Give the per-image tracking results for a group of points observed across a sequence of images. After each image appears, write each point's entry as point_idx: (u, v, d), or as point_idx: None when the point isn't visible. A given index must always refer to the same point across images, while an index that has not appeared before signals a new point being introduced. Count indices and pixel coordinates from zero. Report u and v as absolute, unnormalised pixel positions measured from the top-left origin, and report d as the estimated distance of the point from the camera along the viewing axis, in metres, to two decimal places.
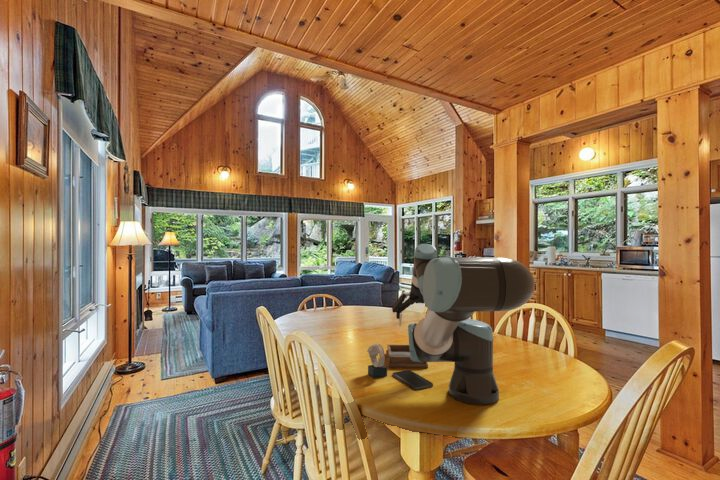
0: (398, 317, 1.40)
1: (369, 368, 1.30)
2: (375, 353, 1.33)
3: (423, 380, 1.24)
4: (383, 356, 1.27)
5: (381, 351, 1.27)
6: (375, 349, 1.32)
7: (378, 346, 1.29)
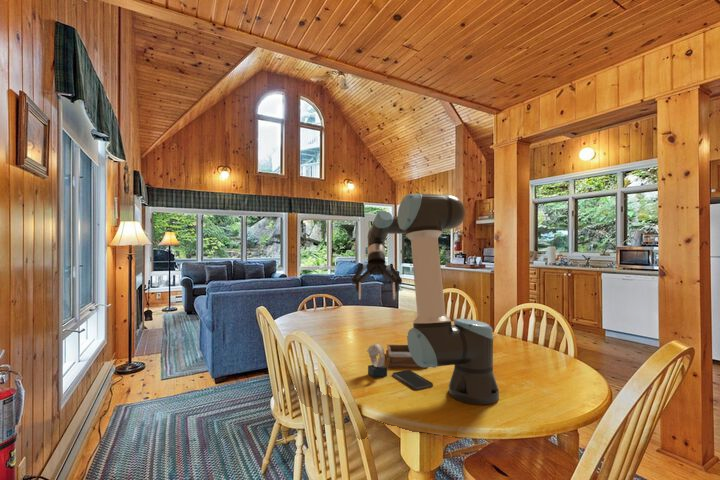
0: (357, 287, 1.43)
1: (369, 368, 1.30)
2: (375, 353, 1.33)
3: (423, 380, 1.24)
4: (383, 356, 1.27)
5: (381, 351, 1.27)
6: (375, 349, 1.32)
7: (378, 346, 1.29)
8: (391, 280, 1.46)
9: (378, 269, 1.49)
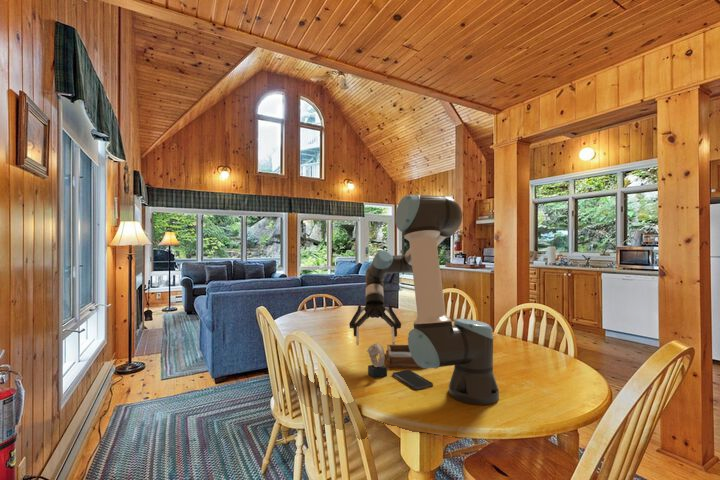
0: (355, 332, 1.38)
1: (369, 368, 1.30)
2: (375, 353, 1.33)
3: (423, 380, 1.24)
4: (383, 356, 1.27)
5: (381, 351, 1.27)
6: (375, 349, 1.32)
7: (378, 346, 1.29)
8: (390, 324, 1.41)
9: (376, 312, 1.44)
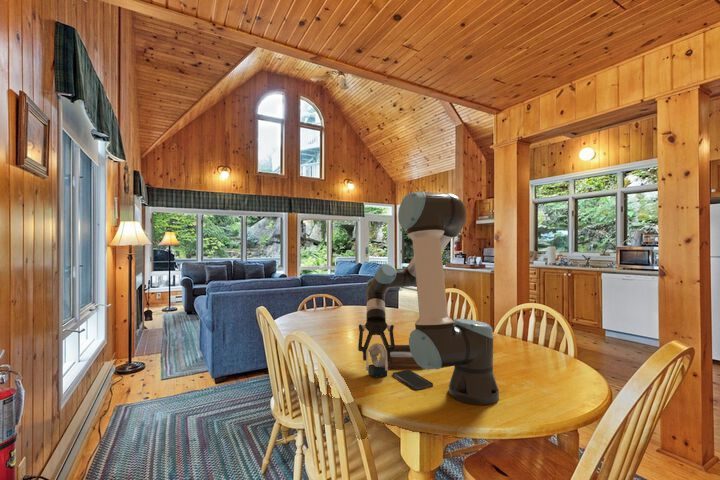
0: (365, 356, 1.29)
1: (369, 367, 1.30)
2: (376, 353, 1.33)
3: (423, 380, 1.24)
4: (384, 356, 1.27)
5: (382, 351, 1.27)
6: (376, 349, 1.32)
7: (379, 346, 1.29)
8: (384, 345, 1.33)
9: (378, 329, 1.37)
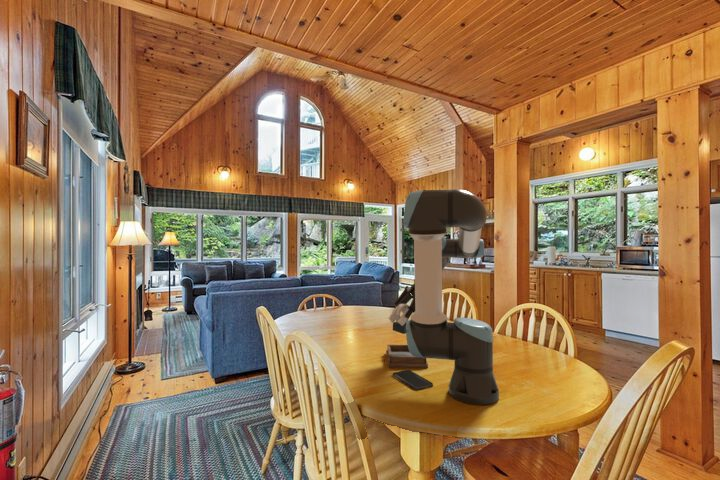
0: None
1: None
2: None
3: (423, 380, 1.24)
4: (398, 314, 1.41)
5: (398, 309, 1.41)
6: (404, 308, 1.45)
7: (400, 305, 1.43)
8: None
9: None
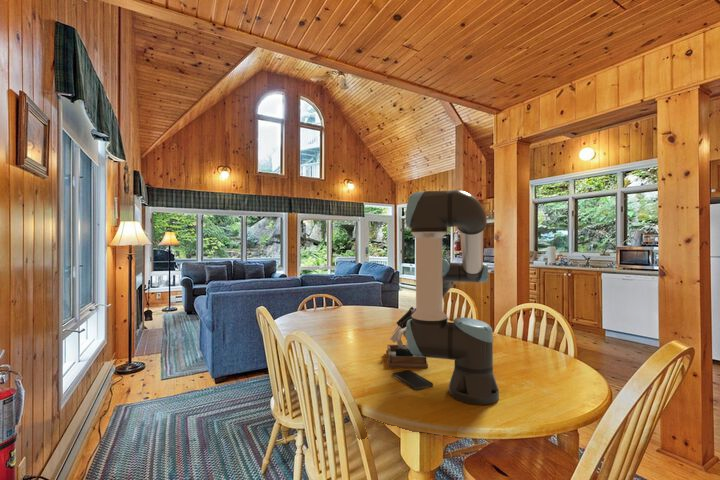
0: None
1: None
2: None
3: (423, 380, 1.24)
4: (399, 339, 1.43)
5: (399, 334, 1.43)
6: None
7: (401, 330, 1.45)
8: None
9: None
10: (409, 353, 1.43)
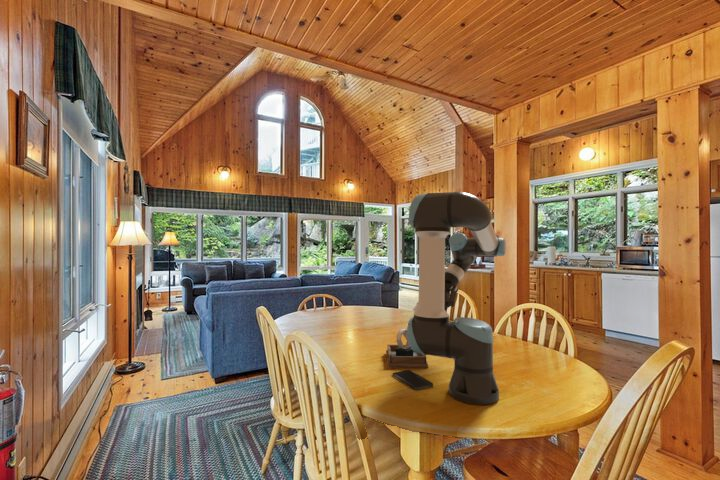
0: (418, 303, 1.58)
1: None
2: None
3: (423, 380, 1.24)
4: (399, 339, 1.43)
5: (399, 334, 1.43)
6: (406, 333, 1.47)
7: (401, 330, 1.45)
8: None
9: None
10: (409, 353, 1.43)
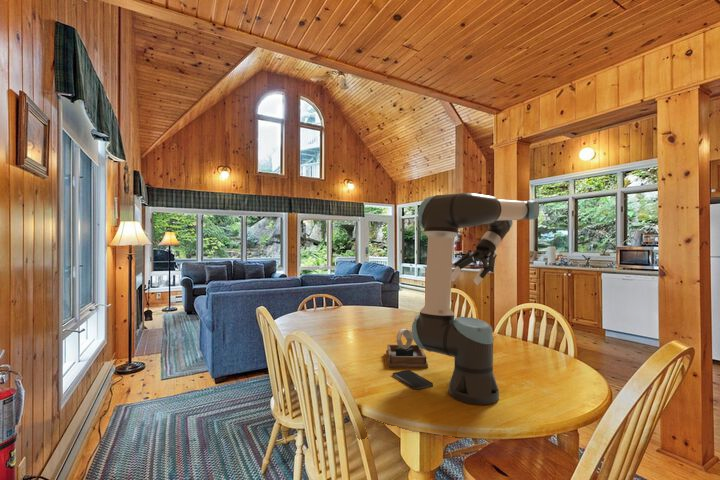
0: None
1: None
2: (408, 337, 1.47)
3: (423, 380, 1.24)
4: (399, 339, 1.43)
5: (399, 334, 1.43)
6: (406, 333, 1.47)
7: (401, 330, 1.45)
8: None
9: (479, 256, 1.52)
10: (409, 353, 1.43)
